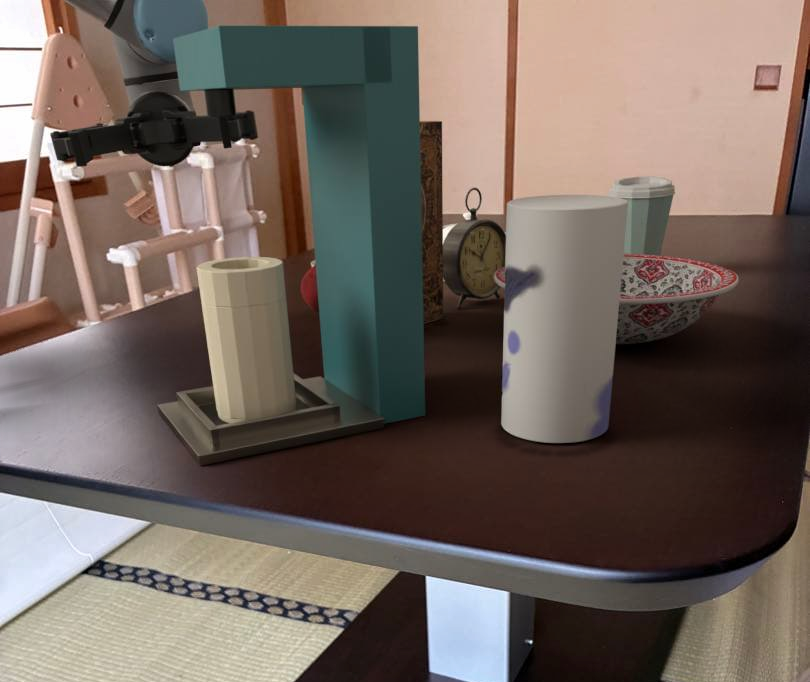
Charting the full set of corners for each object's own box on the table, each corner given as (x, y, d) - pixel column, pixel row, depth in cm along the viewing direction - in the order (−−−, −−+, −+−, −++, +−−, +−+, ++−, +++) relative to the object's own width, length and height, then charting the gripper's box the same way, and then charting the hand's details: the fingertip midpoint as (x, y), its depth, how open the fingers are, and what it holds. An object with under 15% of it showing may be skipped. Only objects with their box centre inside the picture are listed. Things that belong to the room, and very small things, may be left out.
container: (482, 418, 82) (485, 198, 72) (569, 402, 85) (583, 190, 76) (536, 452, 74) (547, 209, 64) (630, 433, 77) (653, 200, 68)
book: (420, 311, 122) (416, 121, 111) (448, 316, 119) (448, 121, 107) (338, 334, 112) (325, 127, 100) (367, 341, 109) (357, 126, 97)
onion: (350, 315, 122) (347, 258, 118) (315, 322, 119) (311, 263, 115) (330, 308, 126) (326, 253, 122) (296, 314, 123) (291, 258, 119)
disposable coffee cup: (674, 279, 137) (685, 181, 130) (608, 281, 138) (616, 183, 131) (658, 268, 147) (668, 175, 140) (596, 269, 147) (603, 177, 140)
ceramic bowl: (463, 360, 100) (463, 291, 96) (524, 306, 123) (526, 249, 120) (721, 381, 90) (732, 305, 86) (734, 318, 114) (743, 257, 110)
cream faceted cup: (208, 407, 84) (187, 262, 77) (280, 394, 87) (266, 253, 80) (231, 430, 78) (210, 275, 71) (307, 416, 81) (294, 265, 74)
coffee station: (158, 413, 86) (92, 39, 70) (362, 377, 95) (343, 38, 79) (200, 466, 73) (130, 24, 58) (430, 418, 82) (424, 25, 67)
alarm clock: (459, 312, 121) (459, 192, 114) (434, 307, 125) (432, 189, 117) (511, 300, 128) (514, 185, 120) (485, 295, 131) (487, 183, 124)
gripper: (275, 151, 100) (290, 168, 82) (60, 176, 96) (26, 200, 78) (264, 79, 96) (278, 81, 78) (40, 103, 93) (0, 110, 75)
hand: (152, 140), depth 78 cm, fingers open, 13 cm apart
